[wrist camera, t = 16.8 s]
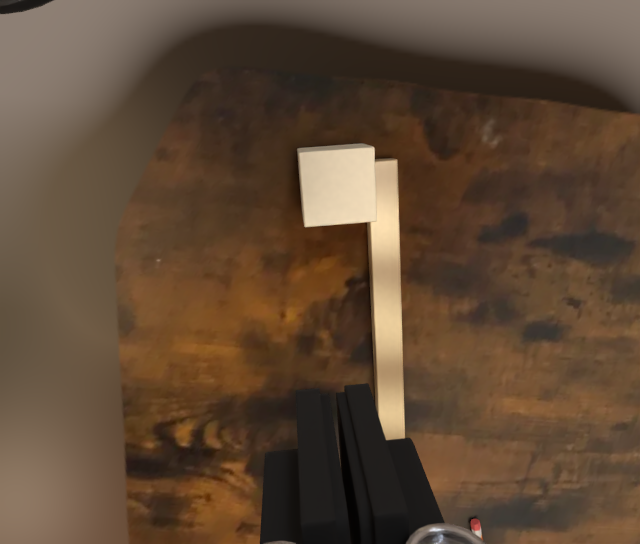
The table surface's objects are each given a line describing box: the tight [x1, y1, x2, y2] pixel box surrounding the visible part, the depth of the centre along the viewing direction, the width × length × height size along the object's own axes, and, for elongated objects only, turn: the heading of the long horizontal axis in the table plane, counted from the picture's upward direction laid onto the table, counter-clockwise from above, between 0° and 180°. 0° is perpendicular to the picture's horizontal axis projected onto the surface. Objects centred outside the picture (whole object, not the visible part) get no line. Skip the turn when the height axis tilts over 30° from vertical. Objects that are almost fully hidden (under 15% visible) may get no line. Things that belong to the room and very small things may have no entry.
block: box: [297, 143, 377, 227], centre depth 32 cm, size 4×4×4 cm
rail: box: [367, 158, 405, 440], centre depth 38 cm, size 32×2×2 cm, turn 4°
